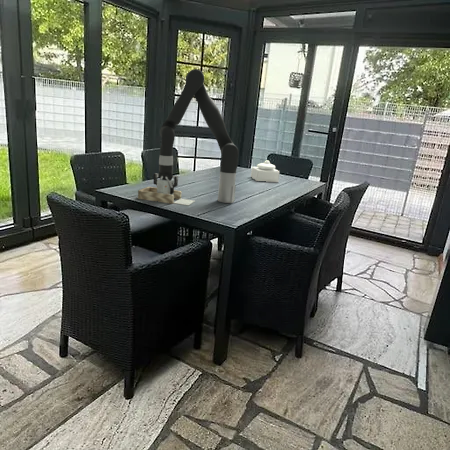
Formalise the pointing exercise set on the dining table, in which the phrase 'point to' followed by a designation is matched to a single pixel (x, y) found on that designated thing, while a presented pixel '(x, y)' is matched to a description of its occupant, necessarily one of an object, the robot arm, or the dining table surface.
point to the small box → (164, 187)
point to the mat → (184, 202)
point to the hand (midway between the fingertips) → (165, 193)
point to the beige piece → (158, 195)
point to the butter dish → (265, 172)
